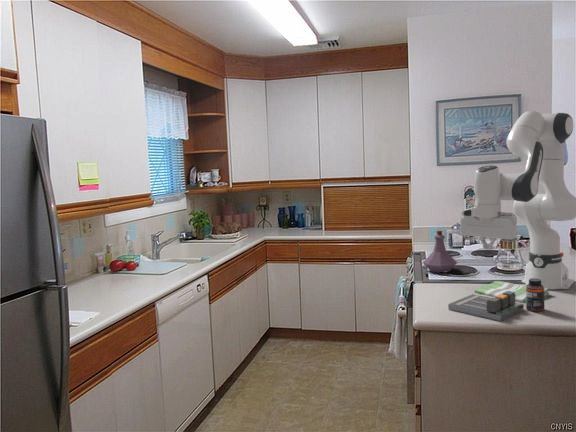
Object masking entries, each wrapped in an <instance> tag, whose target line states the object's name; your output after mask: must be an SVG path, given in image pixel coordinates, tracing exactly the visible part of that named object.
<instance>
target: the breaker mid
mask: <svg viewBox="0 0 576 432" xmlns="http://www.w3.org/2000/svg"><path fill="white" fill-rule="evenodd" d="M494 298H498V299H500V301H501V309H504V308H506V307H508V297H507V295H502V294H500V295H497V296H495V297H494Z"/></svg>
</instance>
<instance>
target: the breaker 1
mask: <svg viewBox="0 0 576 432" xmlns="http://www.w3.org/2000/svg"><path fill="white" fill-rule="evenodd" d="M489 298H490V299H488V300H487V311H490V312H494V313H495V312H497V311H499V310H501V301H500V299H498V298H495V297H489Z"/></svg>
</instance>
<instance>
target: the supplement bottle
mask: <svg viewBox="0 0 576 432" xmlns="http://www.w3.org/2000/svg"><path fill="white" fill-rule="evenodd" d="M525 286H526V303H525V308H526V310H527V311H529V312H535V313H536V312H537V313H539V312H543V311H545V297H544V286H543V285H541V279H537V278H531V279H529V284H528V285H525Z"/></svg>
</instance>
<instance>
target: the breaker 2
mask: <svg viewBox="0 0 576 432" xmlns="http://www.w3.org/2000/svg"><path fill="white" fill-rule="evenodd" d="M502 295H507V297H508V305H512V304H514V303H516V301H515V292H511V291H506V292H504V293H503V294H502Z"/></svg>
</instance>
